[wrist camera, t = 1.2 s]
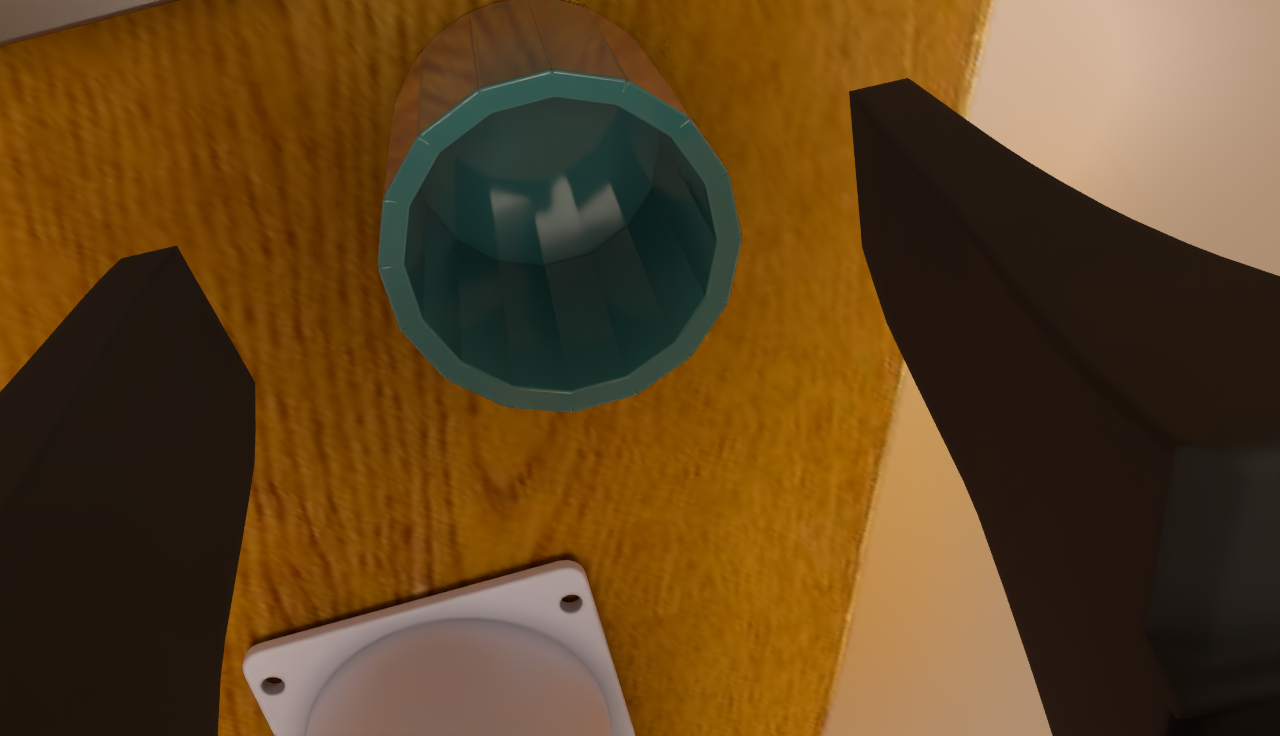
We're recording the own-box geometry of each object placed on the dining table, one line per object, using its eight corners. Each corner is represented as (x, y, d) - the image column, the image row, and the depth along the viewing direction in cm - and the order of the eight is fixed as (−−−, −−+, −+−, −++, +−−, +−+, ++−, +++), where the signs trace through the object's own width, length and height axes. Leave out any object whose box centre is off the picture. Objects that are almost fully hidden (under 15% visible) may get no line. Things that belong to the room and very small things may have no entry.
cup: (696, 231, 25) (767, 361, 20) (440, 300, 25) (441, 449, 20) (638, -36, 22) (701, 29, 17) (352, 39, 22) (327, 128, 17)
